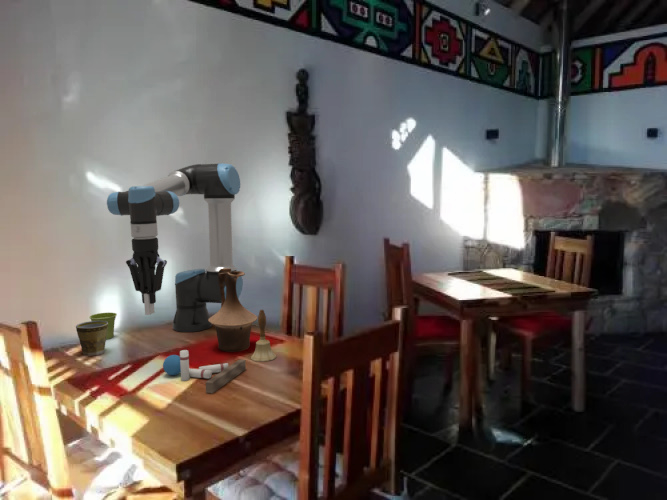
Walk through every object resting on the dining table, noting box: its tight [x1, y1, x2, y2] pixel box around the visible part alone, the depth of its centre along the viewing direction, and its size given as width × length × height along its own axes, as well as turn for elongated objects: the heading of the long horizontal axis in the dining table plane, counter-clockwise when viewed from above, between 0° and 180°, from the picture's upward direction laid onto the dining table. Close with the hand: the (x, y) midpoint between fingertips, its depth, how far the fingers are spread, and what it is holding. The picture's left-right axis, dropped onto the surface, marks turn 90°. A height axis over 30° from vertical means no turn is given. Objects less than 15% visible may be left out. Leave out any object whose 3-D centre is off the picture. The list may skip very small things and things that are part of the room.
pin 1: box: [179, 349, 191, 382], centre depth 155 cm, size 2×2×8 cm
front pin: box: [189, 367, 213, 380], centre depth 157 cm, size 2×2×8 cm
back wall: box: [205, 358, 247, 394], centre depth 154 cm, size 20×2×3 cm, turn 163°
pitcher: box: [208, 268, 258, 353], centre depth 185 cm, size 18×17×28 cm
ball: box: [162, 354, 181, 376], centre depth 159 cm, size 6×6×6 cm
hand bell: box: [250, 309, 277, 363], centre depth 174 cm, size 8×8×16 cm
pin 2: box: [198, 362, 230, 374], centre depth 161 cm, size 2×2×8 cm
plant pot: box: [89, 312, 118, 340], centre depth 200 cm, size 9×9×9 cm
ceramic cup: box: [75, 320, 108, 357], centre depth 182 cm, size 13×10×10 cm
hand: (149, 313), depth 164 cm, fingers closed
